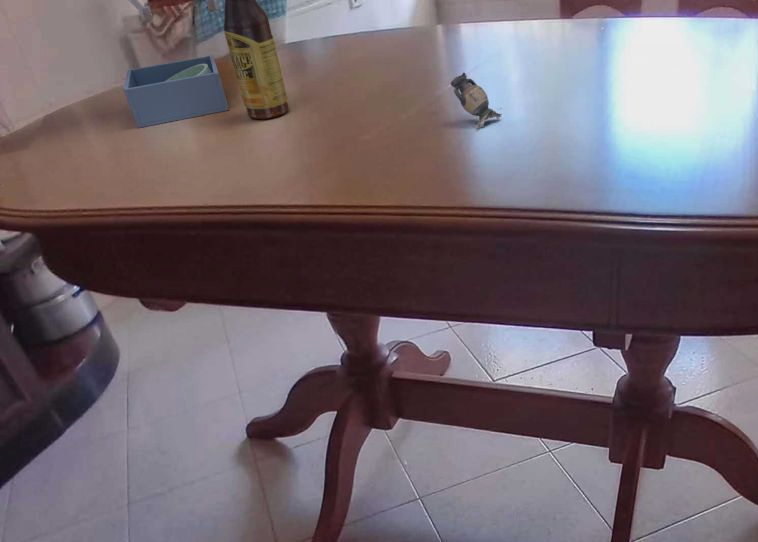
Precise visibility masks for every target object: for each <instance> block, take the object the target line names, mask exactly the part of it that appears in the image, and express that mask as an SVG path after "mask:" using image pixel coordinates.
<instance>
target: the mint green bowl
mask: <svg viewBox="0 0 758 542" xmlns="http://www.w3.org/2000/svg"><path fill="white" fill-rule="evenodd" d="M210 73H212V71H211V69H210V68H209V66H208V65H207V64H198V65H195V66H192V67H190V68H187V69H185V70H183V71H181V72H179V73H177V74H175V75H174V76H172V77H170V78H169V79H167V80H166V81H171V80H177V79H182V78H188V77H193V76H199V75H204V74H210ZM166 81H164V82H166Z"/></svg>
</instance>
